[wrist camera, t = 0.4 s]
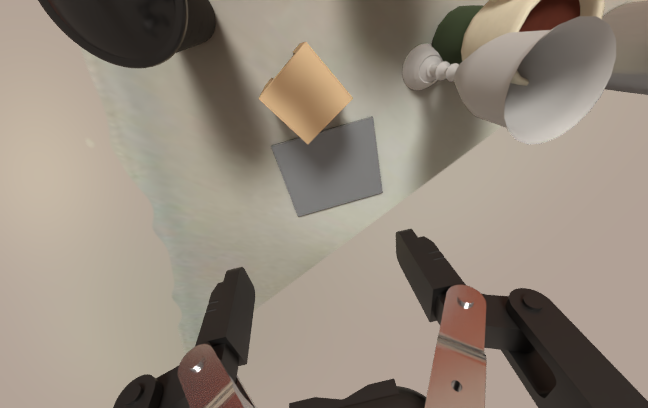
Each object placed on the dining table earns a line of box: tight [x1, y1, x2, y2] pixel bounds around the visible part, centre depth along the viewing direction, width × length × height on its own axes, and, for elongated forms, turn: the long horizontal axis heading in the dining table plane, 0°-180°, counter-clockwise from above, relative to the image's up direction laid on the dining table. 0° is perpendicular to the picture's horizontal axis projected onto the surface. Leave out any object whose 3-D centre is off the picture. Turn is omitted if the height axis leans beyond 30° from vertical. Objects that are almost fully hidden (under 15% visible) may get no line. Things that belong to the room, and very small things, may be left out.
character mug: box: [432, 0, 605, 86], centre depth 24 cm, size 11×7×13 cm, turn 40°
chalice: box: [402, 16, 616, 144], centre depth 23 cm, size 7×7×18 cm
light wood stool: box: [259, 42, 353, 144], centre depth 26 cm, size 6×6×9 cm
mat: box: [271, 117, 383, 216], centre depth 36 cm, size 14×12×1 cm
